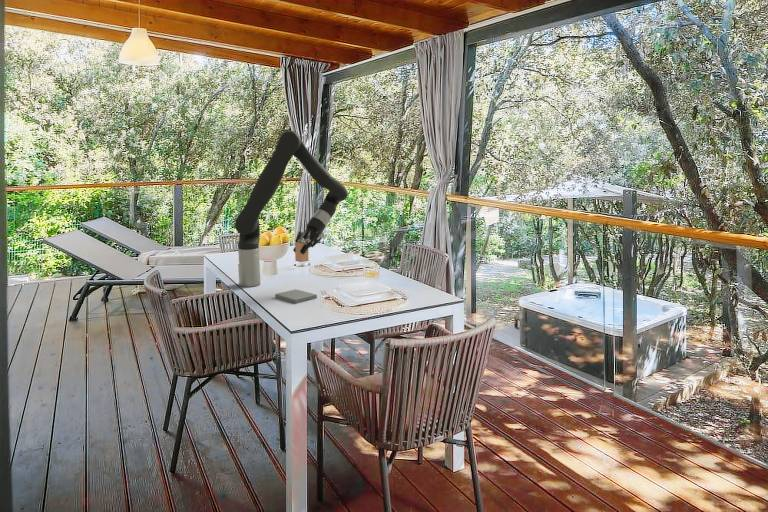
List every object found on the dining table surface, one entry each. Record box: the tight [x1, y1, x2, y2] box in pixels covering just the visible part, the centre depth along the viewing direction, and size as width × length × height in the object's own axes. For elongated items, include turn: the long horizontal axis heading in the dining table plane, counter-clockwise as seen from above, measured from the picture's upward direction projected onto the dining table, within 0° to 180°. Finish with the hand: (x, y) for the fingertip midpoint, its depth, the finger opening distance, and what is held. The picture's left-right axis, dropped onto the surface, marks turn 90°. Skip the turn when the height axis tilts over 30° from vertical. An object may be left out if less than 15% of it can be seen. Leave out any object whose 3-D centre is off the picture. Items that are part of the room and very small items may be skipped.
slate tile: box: [274, 289, 318, 304], centre depth 229 cm, size 14×11×2 cm
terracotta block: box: [294, 241, 310, 263], centre depth 238 cm, size 4×4×8 cm
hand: (298, 252), depth 236 cm, fingers closed on terracotta block, 4 cm apart
